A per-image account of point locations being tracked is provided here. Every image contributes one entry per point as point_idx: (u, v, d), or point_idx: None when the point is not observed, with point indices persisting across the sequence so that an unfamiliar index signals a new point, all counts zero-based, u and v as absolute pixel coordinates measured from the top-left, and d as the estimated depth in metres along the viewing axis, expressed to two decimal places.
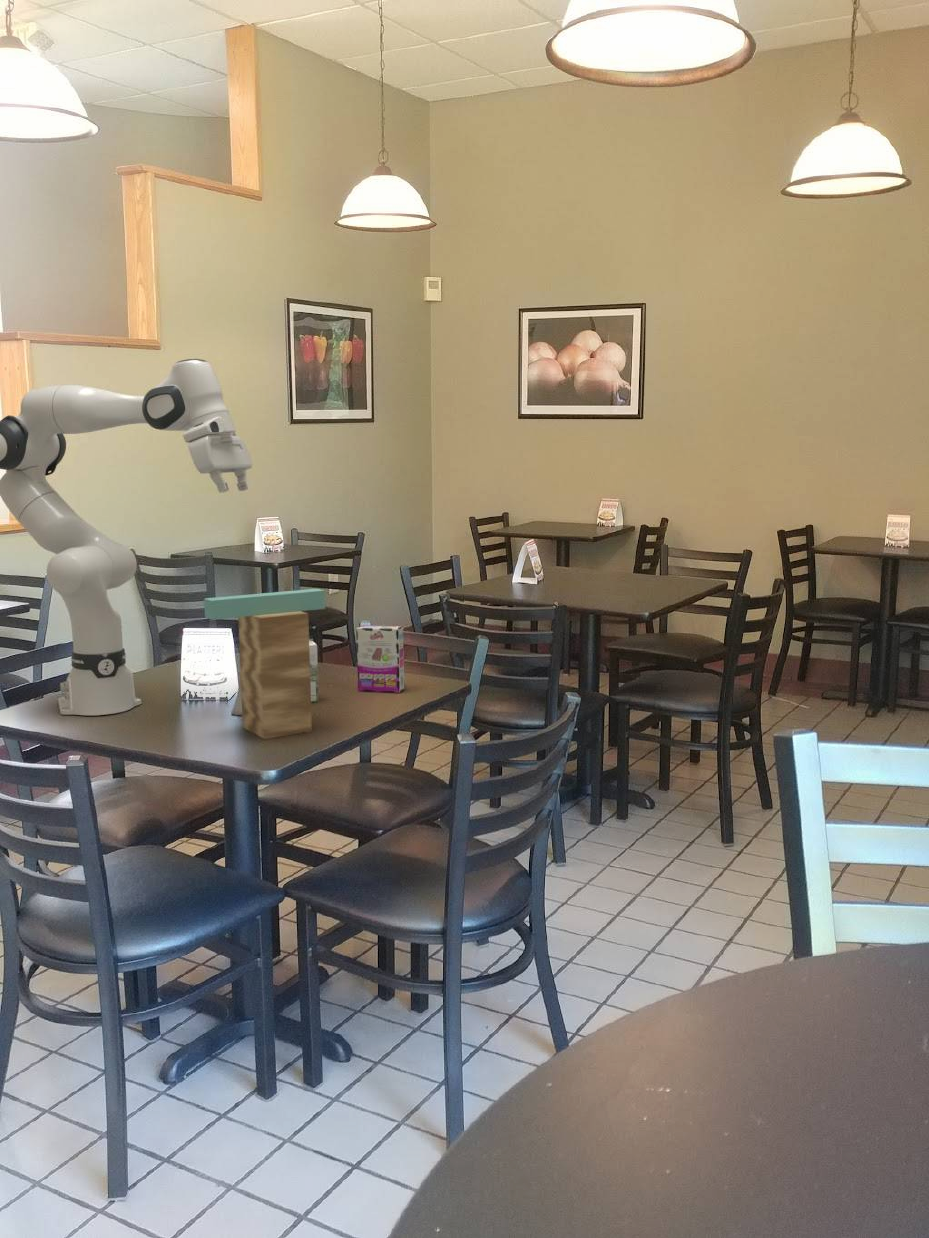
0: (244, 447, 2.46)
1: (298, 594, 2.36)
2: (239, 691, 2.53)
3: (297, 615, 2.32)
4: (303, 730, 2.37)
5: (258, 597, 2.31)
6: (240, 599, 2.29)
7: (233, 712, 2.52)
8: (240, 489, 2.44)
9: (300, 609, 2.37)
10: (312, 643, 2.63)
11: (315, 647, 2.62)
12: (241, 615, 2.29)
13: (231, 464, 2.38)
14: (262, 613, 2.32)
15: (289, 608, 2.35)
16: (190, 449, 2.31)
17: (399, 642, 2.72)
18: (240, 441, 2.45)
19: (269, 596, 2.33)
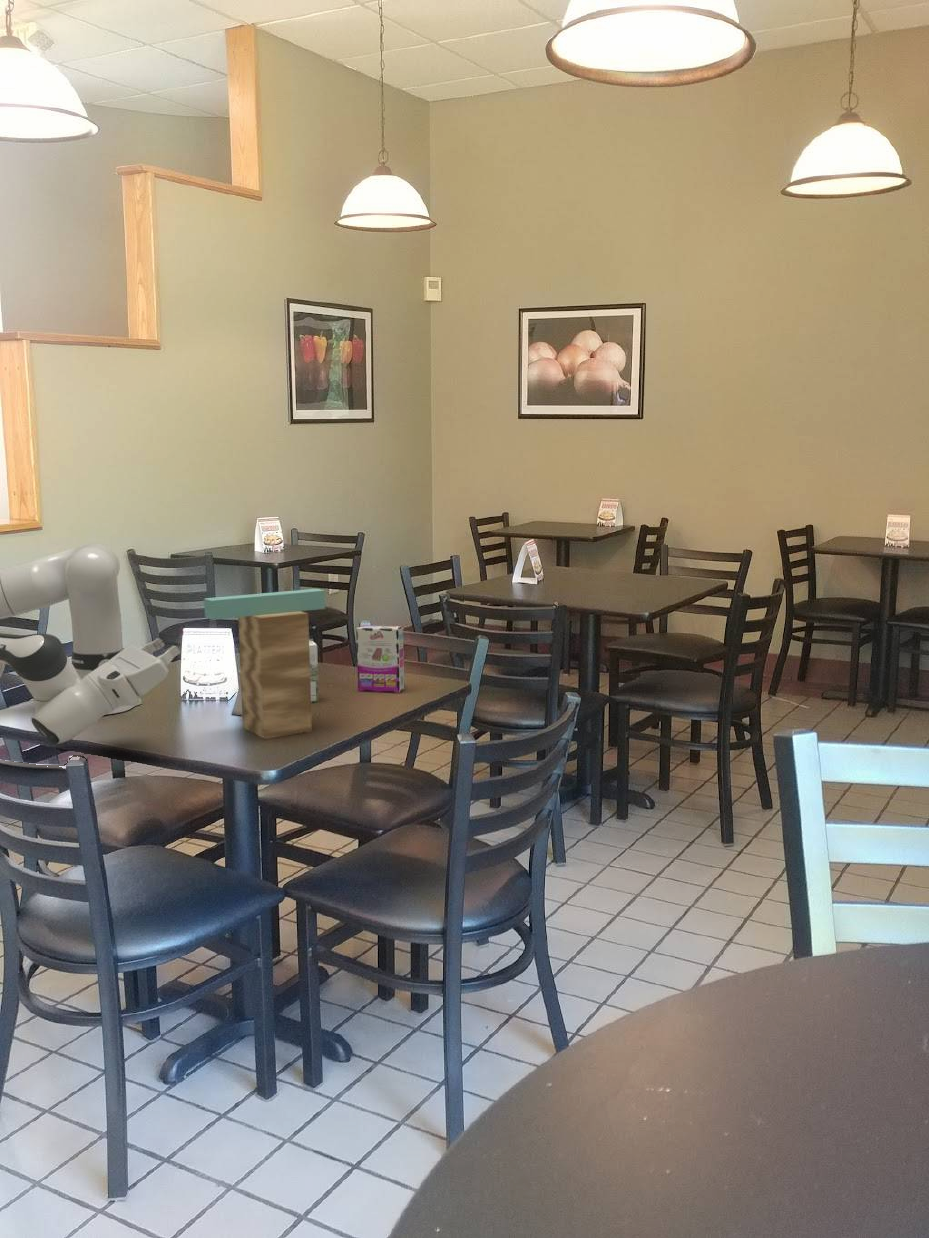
0: (114, 657, 2.26)
1: (298, 594, 2.36)
2: (239, 691, 2.53)
3: (297, 615, 2.32)
4: (303, 730, 2.37)
5: (258, 597, 2.31)
6: (240, 599, 2.29)
7: (233, 712, 2.52)
8: (162, 644, 2.27)
9: (300, 609, 2.37)
10: (312, 643, 2.63)
11: (315, 647, 2.62)
12: (241, 615, 2.29)
13: (144, 653, 2.20)
14: (262, 613, 2.32)
15: (289, 608, 2.35)
16: (147, 690, 2.13)
17: (399, 642, 2.72)
18: (109, 662, 2.25)
19: (269, 596, 2.33)
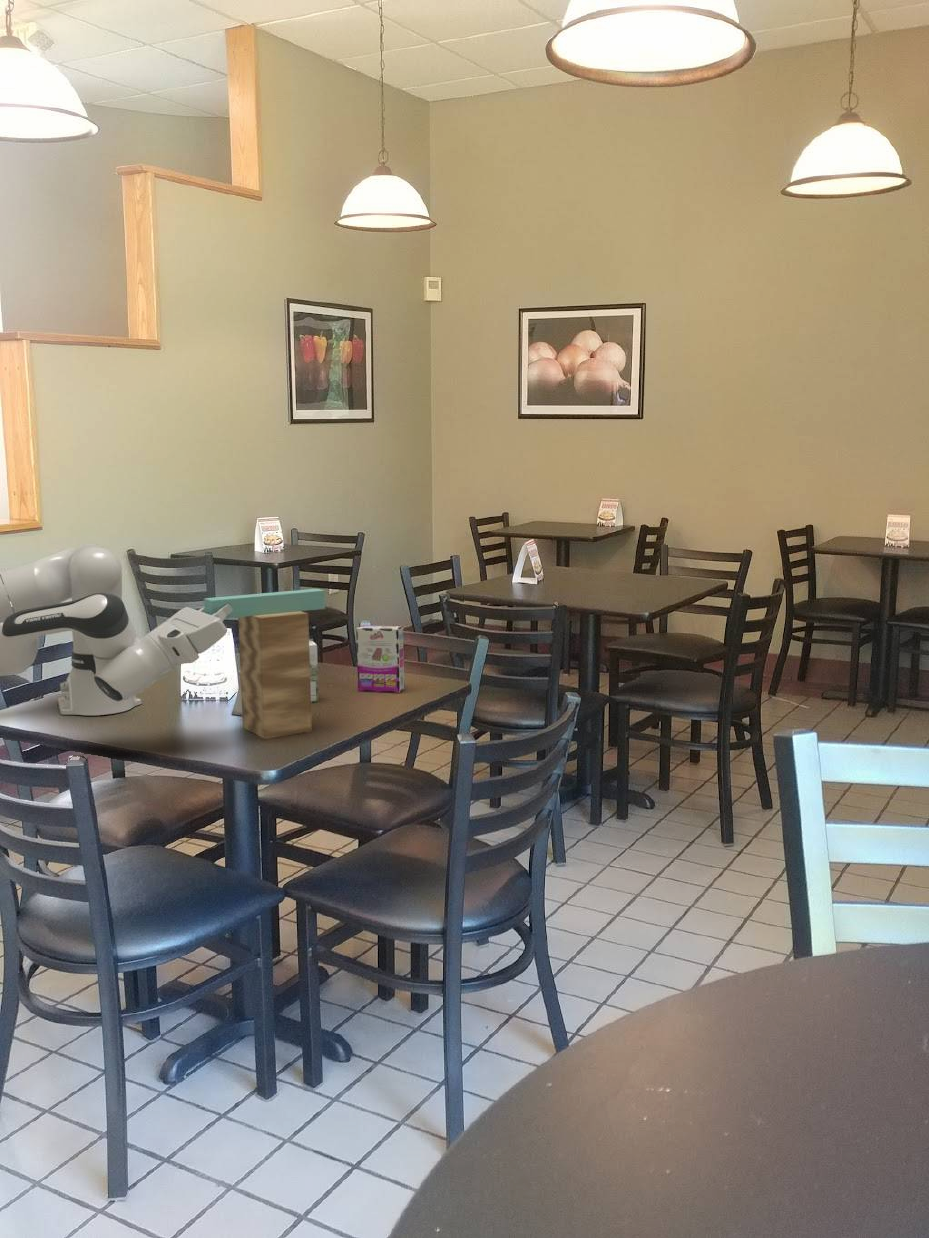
0: (171, 619, 2.32)
1: (298, 594, 2.36)
2: (239, 691, 2.53)
3: (297, 615, 2.32)
4: (303, 730, 2.37)
5: (258, 597, 2.31)
6: (240, 599, 2.29)
7: (233, 712, 2.52)
8: None
9: (300, 609, 2.37)
10: (312, 643, 2.63)
11: (315, 647, 2.62)
12: (241, 615, 2.29)
13: (201, 613, 2.26)
14: (262, 613, 2.32)
15: (289, 608, 2.35)
16: (206, 647, 2.18)
17: (399, 642, 2.72)
18: (166, 623, 2.30)
19: (269, 596, 2.33)
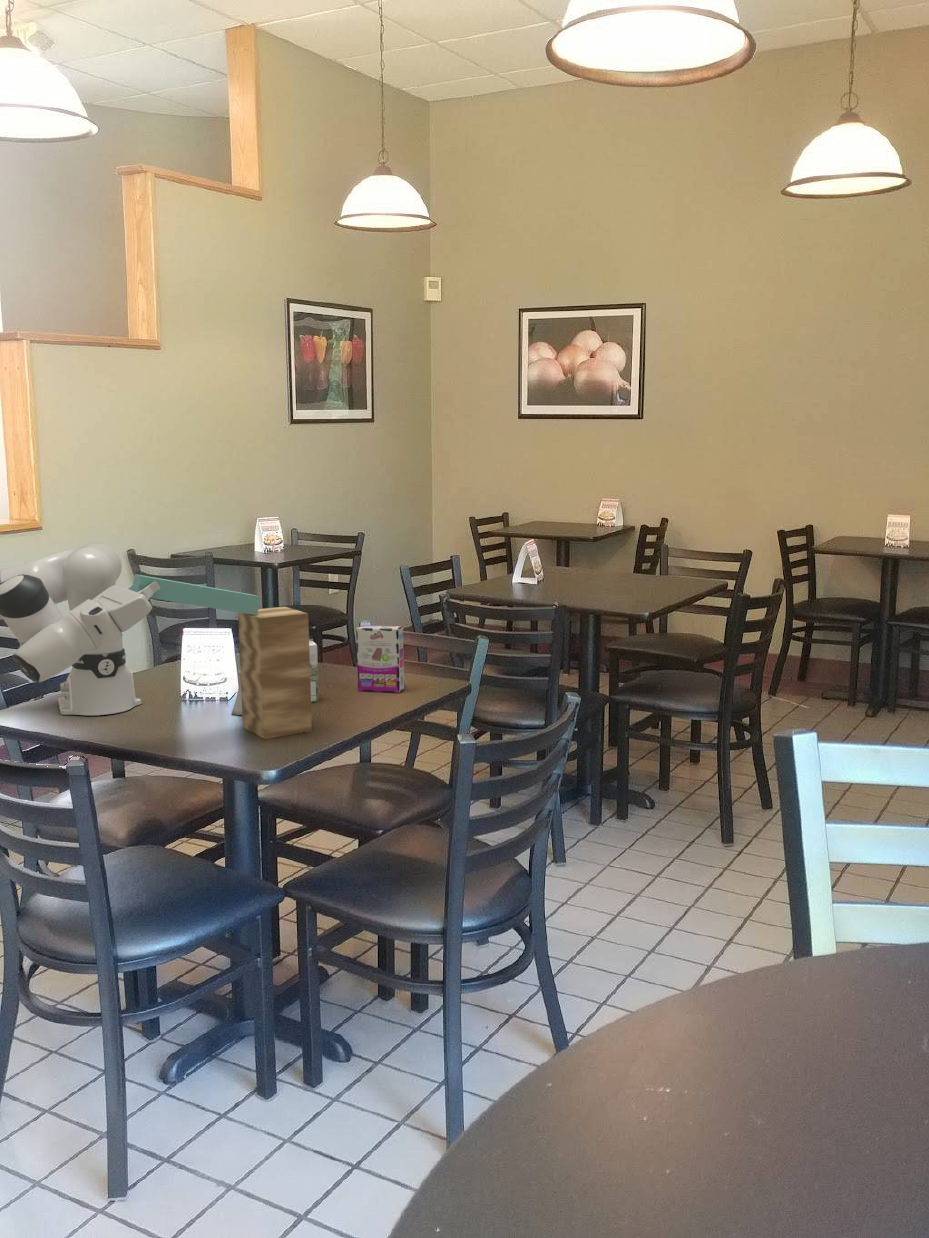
0: (97, 597, 2.22)
1: (232, 593, 2.28)
2: (239, 691, 2.53)
3: (297, 615, 2.32)
4: (303, 730, 2.37)
5: (190, 585, 2.23)
6: (171, 582, 2.20)
7: (233, 712, 2.52)
8: None
9: (231, 609, 2.28)
10: (312, 643, 2.63)
11: (315, 647, 2.62)
12: (168, 599, 2.20)
13: (127, 591, 2.16)
14: (191, 603, 2.23)
15: (220, 605, 2.27)
16: (130, 625, 2.09)
17: (399, 642, 2.72)
18: (92, 601, 2.21)
19: (202, 587, 2.24)
